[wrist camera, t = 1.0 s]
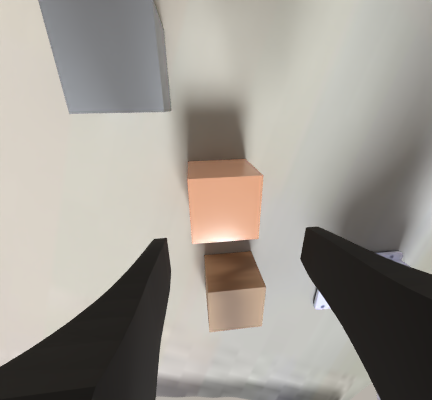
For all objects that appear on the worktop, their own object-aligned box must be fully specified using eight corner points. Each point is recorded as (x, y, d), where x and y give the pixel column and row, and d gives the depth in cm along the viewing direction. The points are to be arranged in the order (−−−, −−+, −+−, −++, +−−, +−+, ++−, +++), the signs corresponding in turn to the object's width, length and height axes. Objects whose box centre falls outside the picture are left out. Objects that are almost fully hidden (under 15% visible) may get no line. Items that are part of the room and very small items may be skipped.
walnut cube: (250, 250, 23) (265, 286, 18) (248, 285, 25) (261, 326, 20) (204, 254, 22) (207, 292, 18) (206, 289, 24) (209, 332, 20)
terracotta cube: (245, 158, 19) (263, 175, 14) (243, 209, 21) (258, 238, 16) (188, 161, 18) (187, 179, 13) (191, 213, 20) (192, 244, 16)
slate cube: (163, 30, 14) (151, -6, 10) (171, 110, 16) (164, 111, 12) (86, 29, 14) (35, -9, 9) (104, 111, 16) (69, 113, 11)
